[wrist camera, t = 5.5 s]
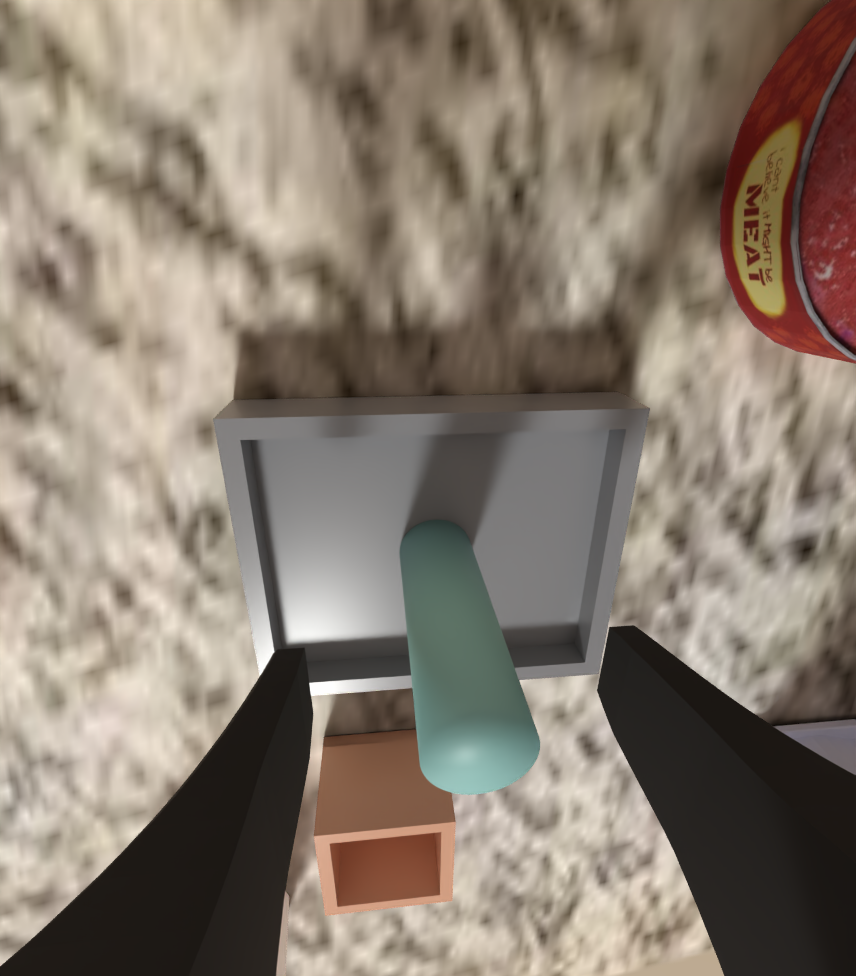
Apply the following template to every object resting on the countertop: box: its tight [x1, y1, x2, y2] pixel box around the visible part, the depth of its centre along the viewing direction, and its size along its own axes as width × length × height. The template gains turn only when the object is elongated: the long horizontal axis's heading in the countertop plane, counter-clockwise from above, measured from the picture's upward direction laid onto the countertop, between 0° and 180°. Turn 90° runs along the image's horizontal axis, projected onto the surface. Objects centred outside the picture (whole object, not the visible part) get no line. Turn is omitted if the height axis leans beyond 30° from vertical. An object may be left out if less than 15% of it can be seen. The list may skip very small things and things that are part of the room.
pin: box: [399, 520, 540, 795], centre depth 13 cm, size 2×2×8 cm
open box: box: [314, 729, 456, 916], centre depth 20 cm, size 5×5×4 cm
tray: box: [213, 392, 650, 696], centre depth 16 cm, size 12×10×2 cm
